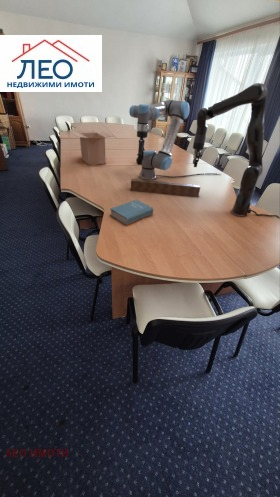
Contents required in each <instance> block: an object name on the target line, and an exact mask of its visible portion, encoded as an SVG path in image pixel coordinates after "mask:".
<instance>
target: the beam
mask: <svg viewBox="0 0 280 497" xmlns="http://www.w3.org/2000/svg"><path fill="white" fill-rule="evenodd" d="M130 191H131V192H132V191H133V192H142V193H153V194H161V195H162V194H164V195H173V196H174V195H175V196H182V197H192V198H193V197H194V198H199V195H200V191H201V185H198V184H191V183H190V184H189V183H180V182H179V183H177V182H168V181H159V180H158V181H156V180H145V179H138V178H137V179H136V178H132V179H131V180H130Z"/></svg>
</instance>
